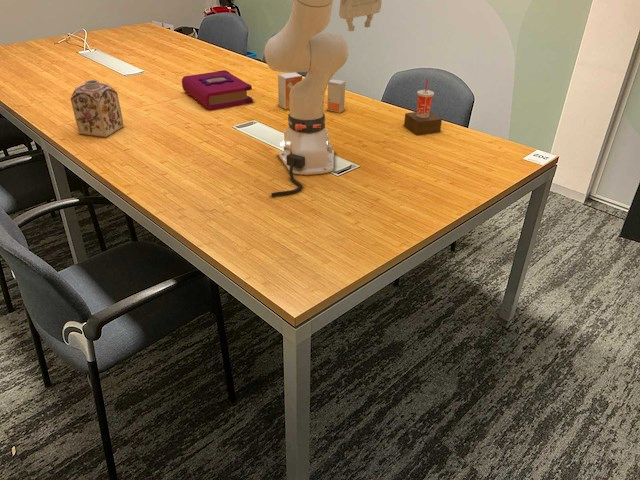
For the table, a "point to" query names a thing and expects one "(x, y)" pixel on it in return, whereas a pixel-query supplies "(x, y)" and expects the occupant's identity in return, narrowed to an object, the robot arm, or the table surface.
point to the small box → (286, 87)
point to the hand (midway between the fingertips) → (359, 28)
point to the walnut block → (422, 123)
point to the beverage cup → (424, 102)
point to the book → (217, 89)
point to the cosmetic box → (336, 95)
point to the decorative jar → (96, 109)
